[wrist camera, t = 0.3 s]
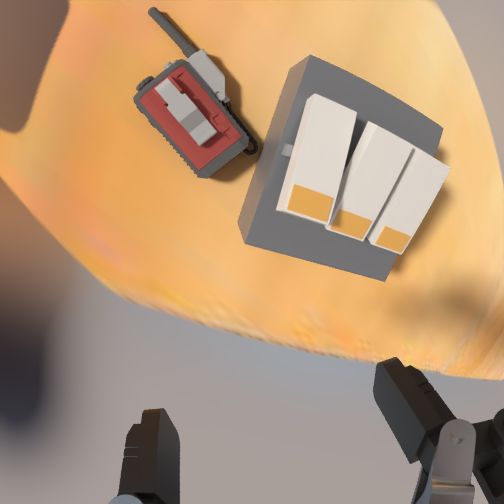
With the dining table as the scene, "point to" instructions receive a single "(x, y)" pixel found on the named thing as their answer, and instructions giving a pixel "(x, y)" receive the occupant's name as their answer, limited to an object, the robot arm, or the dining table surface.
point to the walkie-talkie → (193, 108)
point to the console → (368, 109)
